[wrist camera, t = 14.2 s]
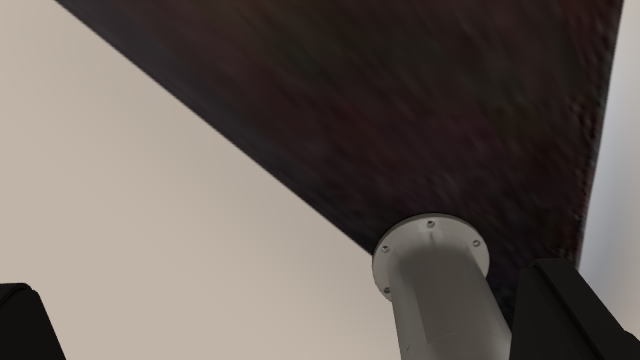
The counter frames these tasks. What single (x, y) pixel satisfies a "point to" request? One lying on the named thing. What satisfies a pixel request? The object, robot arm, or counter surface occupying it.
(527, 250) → the counter surface
